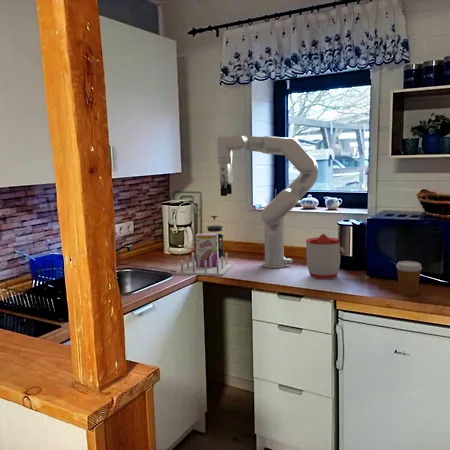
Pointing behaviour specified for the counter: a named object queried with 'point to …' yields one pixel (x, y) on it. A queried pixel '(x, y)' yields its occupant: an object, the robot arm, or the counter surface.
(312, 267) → the citrus juicer
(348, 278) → the counter surface
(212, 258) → the candy bar box
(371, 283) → the counter surface
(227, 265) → the dish rack
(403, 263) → the disposable coffee cup
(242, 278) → the counter surface
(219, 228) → the french press
